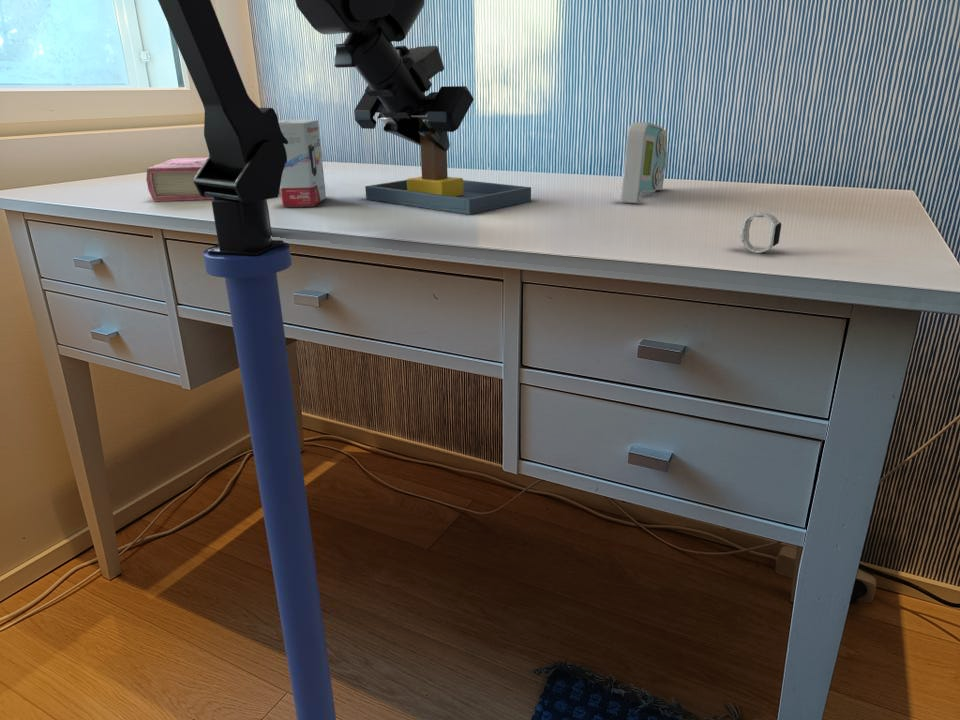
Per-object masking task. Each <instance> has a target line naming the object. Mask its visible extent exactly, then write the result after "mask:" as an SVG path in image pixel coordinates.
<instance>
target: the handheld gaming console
mask: <svg viewBox="0 0 960 720" xmlns="http://www.w3.org/2000/svg"><path fill="white" fill-rule="evenodd" d="M667 133H668V131H667V130H665V129H663V127H662V126H661V125H658V124H656V123H655V124H654V123H652V122H641V121H640V122H638V121H637V122H636V121H635V122H631V123H630V125H629V127H628V130H627V135H626V142H625V143H626V144H625V152H624V155H625V156H624V163H623V173H622V181H621V182H622V183H621V192H620V193H621V194H620V202H621V203H623V204H634V205H638V204H639V200H640V197H641V196H640V195H641V194H642V193H655V192H656V191H663V189H664V182H665V181H664V180H665V171H666V170H667V165H668V156H669V154H668V137H667V136H668V134H667Z"/></svg>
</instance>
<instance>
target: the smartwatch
mask: <svg viewBox="0 0 960 720" xmlns="http://www.w3.org/2000/svg"><path fill="white" fill-rule="evenodd" d="M764 217H765V218H767V219H768V220H769V221H770V222H771V225H770V230H769V233H768V242H767V244H768V247H766V248H764V247H763V248H757V247H755V246H754V245H753V244H752V243H751V241H750V229H751V223H752V221H753V220H754V219H757V218H764ZM781 231H782V222H781V221H779V220H778V218H777V217H776V216H775V215H773V214H772V213H770V212H767V211H759V212H756V213H753V214H750V215H749V216H747V217H746V218H745V219H744V223H743V224H742V225H741V229H740V232H739V233H740V241H741V243H742V245H743V246H744V247H745V248H746V249H747V250H748V251H750V252H751V253H754V254H761V253H765V252H767V251H770V249H772V248H773V247H775V246H776V245H778V244H779V243H780V237H781Z"/></svg>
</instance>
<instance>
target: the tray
mask: <svg viewBox="0 0 960 720" xmlns="http://www.w3.org/2000/svg"><path fill="white" fill-rule="evenodd" d="M364 188H365V200H368V201H375V202H382V203H389V204H396V205H403V206H410V207H416V208H423V209H429V210H436V211H443V212H449V213H450V212H451V213H457V214H464V215H473V214H478V213H482V212H488V211H493V210H496V209H501V208H505V207H508V206H514V205H515V206H516V205H519V204H523V203H528V202H531V201H532V186H523V185H515V184H504V183H494V182H486V181H475V180H467V179H463V195H460V196H447V195H439V194H431V193H423V192H415V191H407V179H403V180H396V181H389V182H383V183H377V184H370V185H365V187H364Z"/></svg>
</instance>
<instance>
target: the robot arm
mask: <svg viewBox="0 0 960 720" xmlns="http://www.w3.org/2000/svg"><path fill="white" fill-rule="evenodd" d="M157 2H158V4H159V6H160V9H161V11H162V12H163V15H164V18H165V20H166V23H167V24H168V27H169V29H170V32H171V34H172V35H173V38H174V40H175V43H176V45H177V48H178V50H179V52H180V55H181V56H182V59H183V62H184V64H185V66H186V68H187V71H188V73H189V75H190V77H191V80H192V82H193V84H194V86H195V90H196V92H197V94H198V97H199V99H200V101H201V103H202V105H203V106H202V107H203V109H204V117H203V118H204V121H203V123H204V125H203V137H204V141H205V144H206V147H207V150H208V151H207V152H208V154H209V155H208V156H207V157H206V158H207V160H206V161H205V163H204V164H203V166H202V167H201V169H200V170H199V172H198V173H197V175H196V176H195V178H194V180H193V182H194V184H195V186H196V188H197V190H198V192H199V194H200V195H201V196H202V197H214V198H213V199H212V200H210V201H211V202H210V203H211V208H212V213H213V219H214V227H215V232H216V239H217V244H218V245H219V246H217V245H216V246H217V247H214V246H213V247H214V248H212V249H209V250H208V254H210V255H233V256H260V255H262V254H264V253H266V252H269V251H271V250H273V249H275V248H277V247H280V246H282V245H284V240H279V239H273V238H272V227H271V219H270V218H271V217H270V210H269V205H268V200H270V199H271V200H272V199H276V198H277V199H278V198H279V196H280V191H281V189H280V183H281V177H282V172H283V170H284V166H285V163H287V153H286V149H285V146H284V144H288V141H287V139H286V138H285V137H284V136H283V134H282V132H281V129H280V126H279V122H278V121H279V117H278V114H277V113H276V111H275V109H274V108H273V107H259V106H258V105H257V104H256V103H255V102H254V101H253V100H252V99H251V97H250V96H249V94H248V91H247V89H246V86H245V83H244V82H243V79H242V76H241V74H240V71H239V68H238V66H237V64H236V60H235V59H234V56H233V53H232V51H231V48H230V46H229V43H228V41H227V39H226V36H225V33H224V31H223V28H222V26H221V23H220V20H219V18H218V15H217V13H216V10H215V7H214V5H213V3H212V0H157ZM294 2H295V5H296V8H297V10H298V11H299V12H300V13H301V14H302V16H303V17H304V18H305V19H306V20H307V22H308V23H309V25H310V26H311V27H312V28H313V29H314V30H315V31H316V32H318V33H319V34H321V35H337V34H339V35H340V34H348V35H347V36H346V38H345V39H344V41H343V42H342V43H336V44H335V45H334V48H335V52H334V53H335V54H334V56H333V57H334V58H333V65H334V67H335V68H336V69H338V68H339V69H340V68H355V70H356V71H357V72H358V74H359V75H360V76H361V78H362V79H363V80H364V82H365V83H366V84H367V86H366V88H365V89H364V93H363V94H362V96H361V98H360V99H359V101H358V103H357V105H356V107H355V108H354V110H353V113H354V116H353V117H354V121H356V123H357V124H358V126H359V127H360V128H361V129H363V130H364V129H366V130H367V129H368V130H374V129H376V126H377V123H378V122H377V121H376V119H375V118H374V117H375V115H376V114H377V113H378V116H377V120H378V121H381V122H382V123H383V124H384V126H383V131H384V132H385V133H390V134H392V135H394V136H396V137H399V138H401V139H404V140H406V141H409V142H410V143H413V144H416V145H418V146H420V134H421V135H422V136H424V137H425V138H427V139H428V140H429V141H431V142H432V143H434V144H435V145H437V146H438V147H439V148H441V149H443V150H444V151H448V150H449V149H450V145H451V144H450V143H451V142H450V139H449V134H448V133H454V132H455V131H457V130H459V128H460V126H461V124H462V122H463V121H464V118H465V117H466V115H467V113H468V111H469V109H470V108H471V105H472V104H473V102H474V100H475V99H474V97H473V95H472V93H471V91H470V89H469V88H468V86H467V85H456V86H455V85H447V86H440V88H439V89H438V91H432V92H429V91H430V89H431V88H432V85H433V83H432V82H431V79H433V78H434V77H435V76H436V75H437V74H438V73H441V72H442V73H443V72H444V70H445V66H444V62H443V59H442V56H441V52H440V49H439V46H438V45H427V46H425V45H424V46H417V47H410V48H408V47H407V46H406V45H396V46H395V45H394V44H393V43H392V42H396V43H398V42H403V41H404V40H405V39H406V38H407V36H408V34H409V32H410V30H411V29H412V27H413V25H414V24H415V22H416V21H417V19H418V17H419V15H420V14H421V12H422V10H423V9H424V8H425V7H424V6H425V0H294ZM426 92H429V93H428V95H426V94H425V93H426ZM419 117H423V119H422V120H423V124H422V125H421V127H420V129H419Z"/></svg>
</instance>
